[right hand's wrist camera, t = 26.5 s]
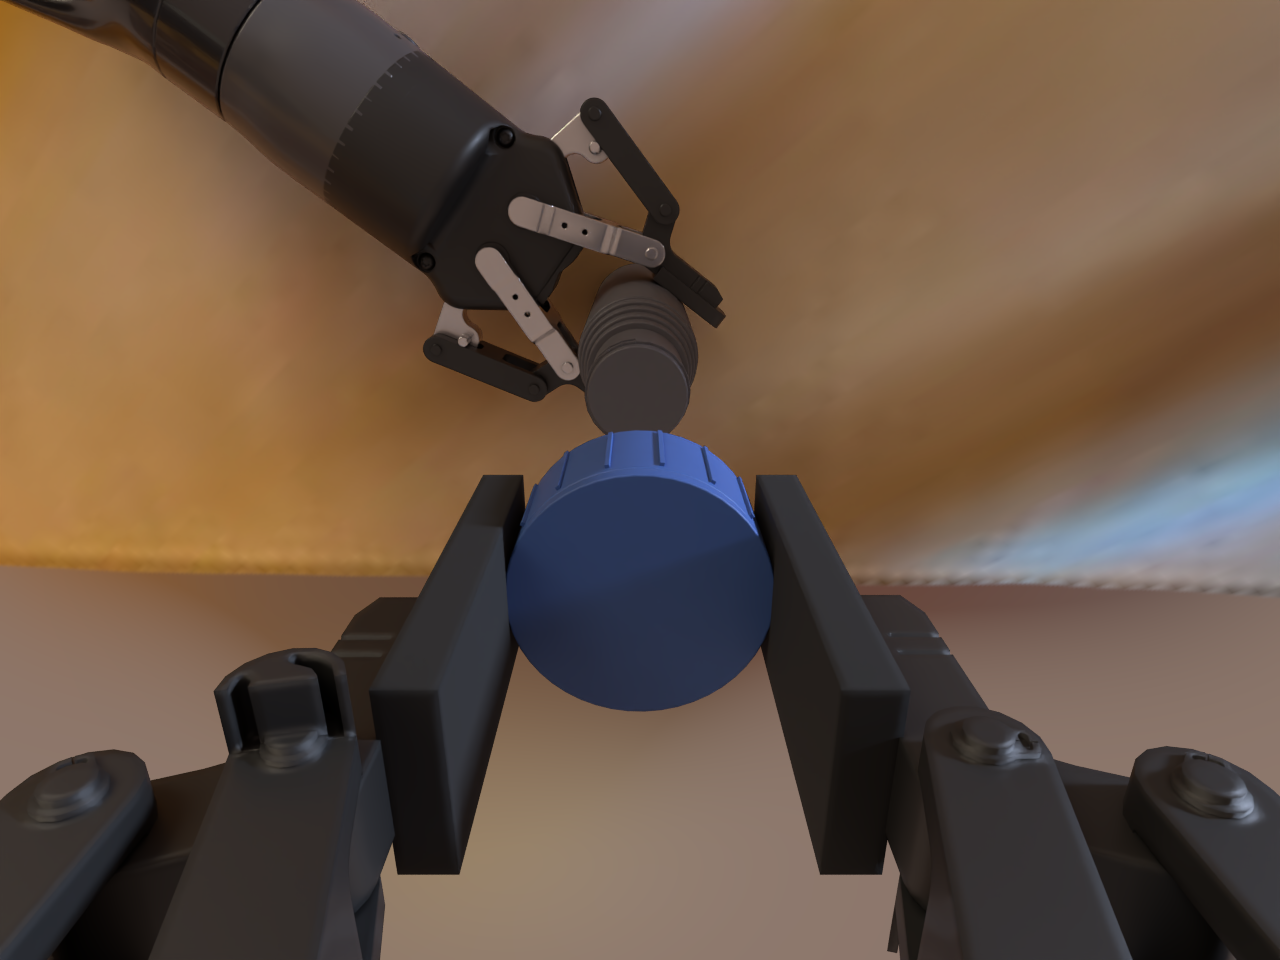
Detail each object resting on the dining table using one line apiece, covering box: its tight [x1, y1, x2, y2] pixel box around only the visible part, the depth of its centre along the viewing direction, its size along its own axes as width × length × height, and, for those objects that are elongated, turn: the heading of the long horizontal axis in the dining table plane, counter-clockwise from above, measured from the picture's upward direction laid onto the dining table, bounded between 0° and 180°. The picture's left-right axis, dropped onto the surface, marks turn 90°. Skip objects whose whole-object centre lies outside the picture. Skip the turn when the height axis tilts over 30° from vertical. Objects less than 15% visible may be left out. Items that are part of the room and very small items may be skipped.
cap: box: [506, 430, 774, 711], centre depth 14 cm, size 4×5×2 cm
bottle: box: [578, 264, 698, 435], centre depth 33 cm, size 5×5×18 cm
